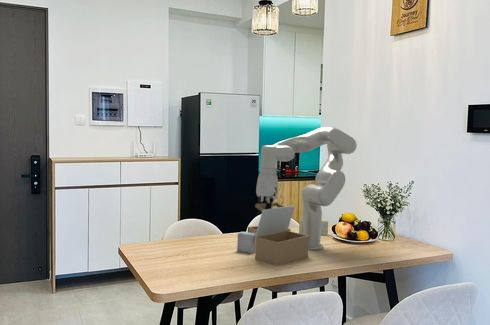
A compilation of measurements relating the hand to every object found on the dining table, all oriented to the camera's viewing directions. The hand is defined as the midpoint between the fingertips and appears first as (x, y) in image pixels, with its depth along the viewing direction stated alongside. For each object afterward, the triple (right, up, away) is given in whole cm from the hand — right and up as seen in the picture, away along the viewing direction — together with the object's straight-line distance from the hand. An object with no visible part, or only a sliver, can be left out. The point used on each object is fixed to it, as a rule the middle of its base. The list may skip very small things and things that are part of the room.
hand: (266, 210), depth 213 cm
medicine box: (-9, -20, +3) cm, 22 cm away
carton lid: (+4, -4, -4) cm, 7 cm away
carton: (+7, -21, -6) cm, 23 cm away
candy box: (+29, -19, +44) cm, 56 cm away
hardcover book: (+3, -18, +41) cm, 45 cm away
